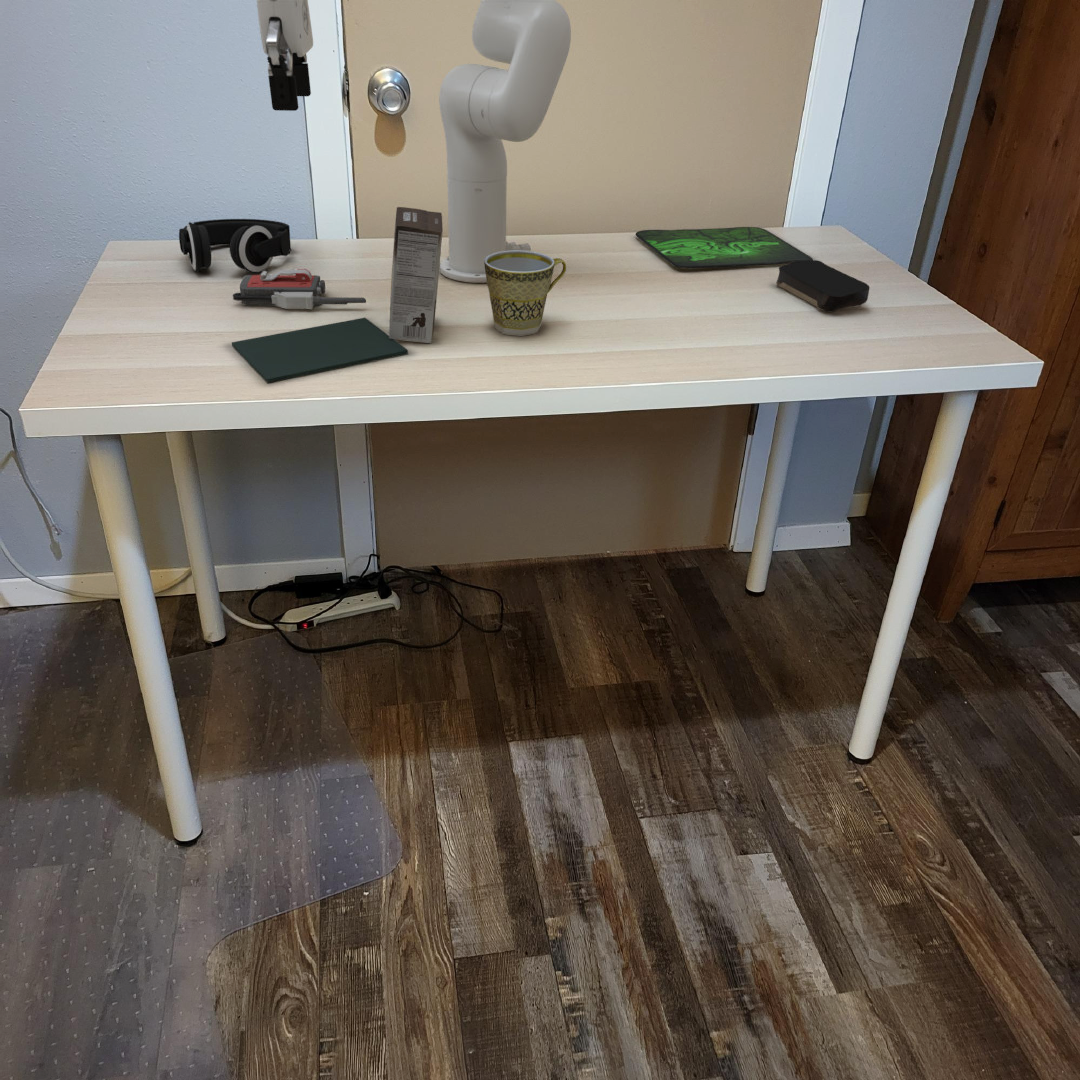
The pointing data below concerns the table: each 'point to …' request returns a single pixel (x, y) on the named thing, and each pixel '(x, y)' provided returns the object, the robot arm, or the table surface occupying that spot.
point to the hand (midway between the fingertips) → (292, 102)
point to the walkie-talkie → (287, 290)
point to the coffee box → (415, 274)
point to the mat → (317, 349)
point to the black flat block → (822, 285)
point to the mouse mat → (721, 247)
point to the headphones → (236, 242)
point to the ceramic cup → (519, 289)
